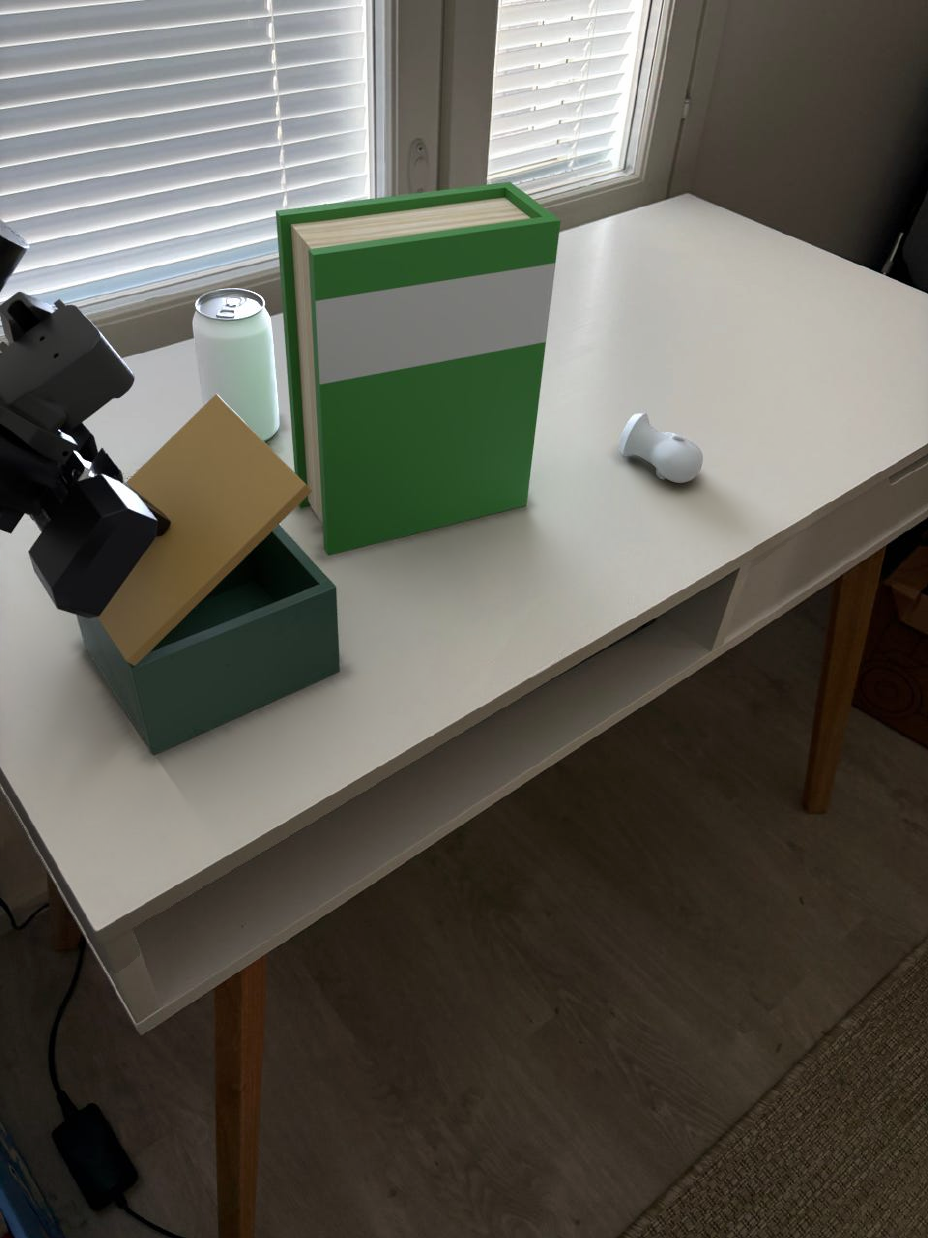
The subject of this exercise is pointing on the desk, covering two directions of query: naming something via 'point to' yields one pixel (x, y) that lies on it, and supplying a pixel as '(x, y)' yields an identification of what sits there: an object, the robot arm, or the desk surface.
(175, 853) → the desk surface
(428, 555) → the desk surface
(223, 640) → the dark green open box
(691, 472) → the smooth white sculpture
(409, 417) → the hardback book
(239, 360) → the can
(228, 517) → the lid
